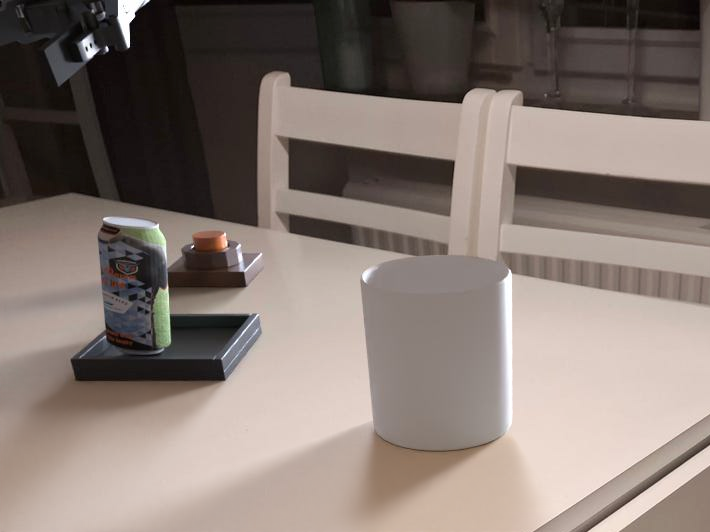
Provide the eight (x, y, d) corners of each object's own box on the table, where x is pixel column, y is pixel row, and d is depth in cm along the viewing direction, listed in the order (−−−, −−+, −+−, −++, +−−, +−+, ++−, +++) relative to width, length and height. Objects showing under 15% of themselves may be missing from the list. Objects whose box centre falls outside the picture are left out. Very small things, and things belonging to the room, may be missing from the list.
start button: (190, 254, 121) (187, 238, 120) (200, 246, 125) (197, 230, 123) (222, 253, 121) (220, 238, 120) (231, 245, 124) (229, 230, 123)
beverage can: (101, 350, 100) (69, 218, 93) (171, 336, 103) (145, 207, 96) (123, 366, 96) (91, 229, 89) (196, 351, 99) (170, 218, 92)
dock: (75, 380, 96) (69, 359, 95) (127, 333, 107) (123, 313, 106) (225, 380, 95) (221, 359, 94) (262, 332, 106) (259, 313, 105)
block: (165, 287, 122) (159, 255, 119) (187, 267, 129) (181, 238, 126) (246, 286, 121) (241, 255, 119) (264, 267, 128) (259, 237, 126)
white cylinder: (409, 393, 91) (399, 250, 84) (530, 407, 87) (532, 259, 80) (349, 441, 82) (333, 287, 75) (482, 459, 79) (478, 299, 72)
